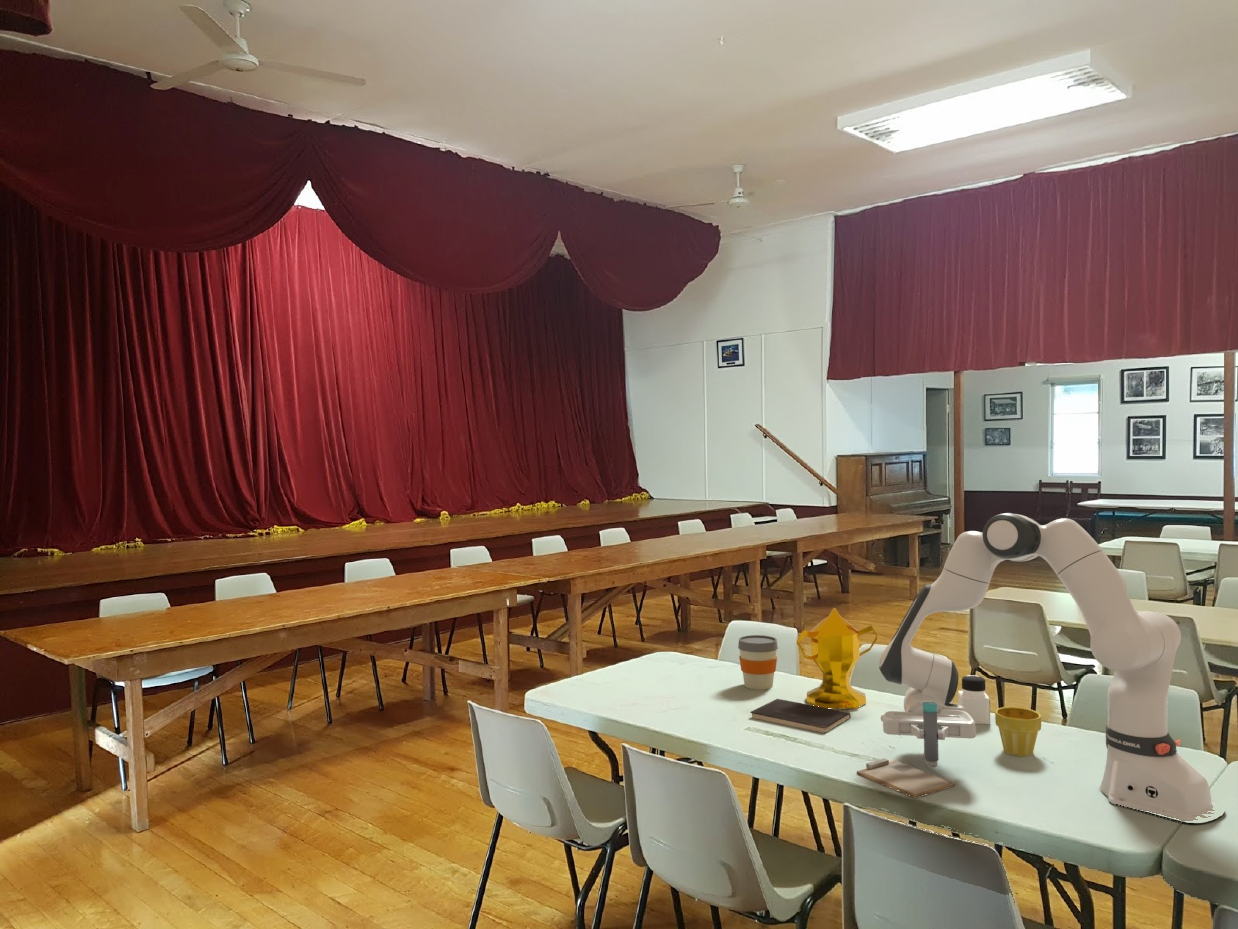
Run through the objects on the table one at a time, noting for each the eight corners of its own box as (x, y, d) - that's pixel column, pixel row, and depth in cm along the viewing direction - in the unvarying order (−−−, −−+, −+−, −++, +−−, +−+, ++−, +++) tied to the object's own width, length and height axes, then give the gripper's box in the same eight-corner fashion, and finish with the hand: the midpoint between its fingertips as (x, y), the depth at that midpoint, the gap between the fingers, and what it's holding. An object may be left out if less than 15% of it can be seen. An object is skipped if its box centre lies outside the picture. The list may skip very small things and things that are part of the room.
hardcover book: (825, 735, 229) (825, 727, 229) (750, 719, 244) (750, 711, 244) (850, 720, 242) (850, 712, 242) (778, 705, 256) (778, 698, 256)
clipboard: (955, 785, 193) (954, 778, 193) (914, 798, 186) (914, 791, 186) (894, 762, 208) (894, 755, 208) (855, 773, 201) (855, 766, 201)
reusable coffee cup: (784, 683, 278) (783, 637, 278) (769, 693, 268) (768, 645, 267) (748, 678, 285) (747, 633, 285) (732, 688, 274) (731, 641, 274)
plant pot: (1039, 762, 206) (1038, 721, 206) (992, 755, 211) (992, 715, 211) (1043, 749, 215) (1043, 710, 214) (999, 742, 220) (998, 704, 220)
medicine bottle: (990, 724, 234) (990, 680, 234) (962, 723, 235) (962, 680, 235) (984, 716, 241) (984, 673, 241) (957, 715, 242) (957, 673, 242)
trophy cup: (888, 708, 250) (886, 612, 249) (805, 712, 248) (803, 615, 247) (866, 691, 267) (865, 602, 266) (789, 695, 265) (787, 604, 265)
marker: (941, 766, 193) (940, 704, 193) (932, 769, 191) (930, 706, 191) (930, 762, 196) (928, 701, 195) (921, 765, 194) (919, 703, 194)
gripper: (879, 702, 208) (882, 719, 195) (970, 706, 203) (978, 724, 190) (880, 728, 209) (883, 747, 195) (970, 732, 203) (979, 752, 190)
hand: (931, 736), depth 192 cm, fingers closed on marker, 3 cm apart
